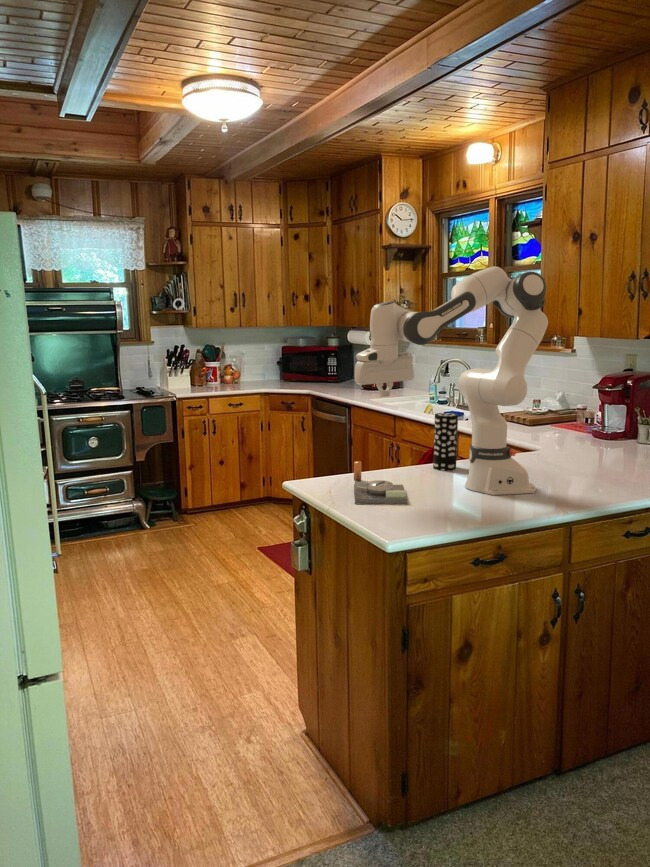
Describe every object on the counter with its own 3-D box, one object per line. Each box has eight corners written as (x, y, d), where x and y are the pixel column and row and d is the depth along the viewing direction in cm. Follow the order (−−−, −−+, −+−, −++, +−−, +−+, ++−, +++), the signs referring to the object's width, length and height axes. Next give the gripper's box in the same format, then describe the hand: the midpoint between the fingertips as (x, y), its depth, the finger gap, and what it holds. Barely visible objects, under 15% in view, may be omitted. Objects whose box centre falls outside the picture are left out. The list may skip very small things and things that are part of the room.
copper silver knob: (360, 484, 228) (360, 459, 227) (396, 490, 222) (397, 464, 220) (348, 490, 222) (348, 464, 220) (385, 496, 215) (386, 469, 213)
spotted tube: (431, 469, 255) (433, 415, 251) (435, 464, 263) (437, 412, 259) (454, 471, 252) (456, 417, 249) (457, 466, 260) (459, 413, 256)
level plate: (402, 489, 229) (402, 479, 228) (407, 504, 212) (407, 493, 212) (353, 488, 229) (353, 479, 229) (354, 503, 213) (355, 493, 212)
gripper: (407, 350, 230) (407, 392, 233) (351, 354, 222) (352, 397, 225) (417, 352, 224) (417, 394, 227) (360, 356, 216) (361, 400, 219)
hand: (384, 396), depth 226 cm, fingers closed
